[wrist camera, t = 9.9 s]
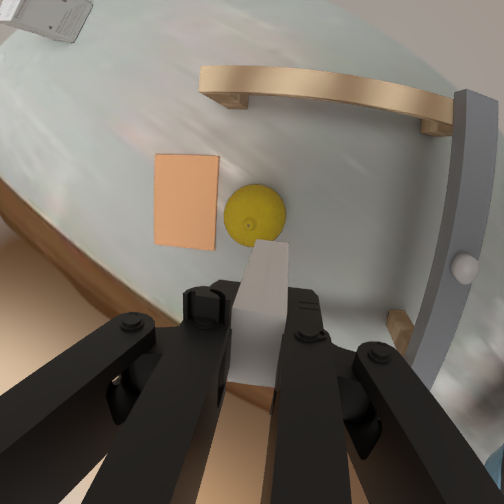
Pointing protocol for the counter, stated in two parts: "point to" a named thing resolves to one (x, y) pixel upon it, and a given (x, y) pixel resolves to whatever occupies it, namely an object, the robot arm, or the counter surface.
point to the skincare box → (46, 17)
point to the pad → (185, 200)
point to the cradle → (342, 91)
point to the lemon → (254, 215)
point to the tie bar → (457, 232)
